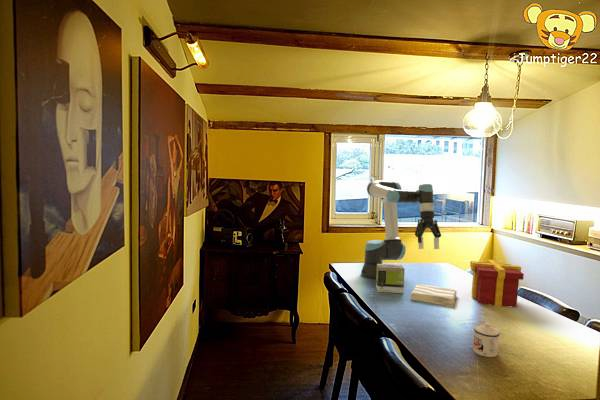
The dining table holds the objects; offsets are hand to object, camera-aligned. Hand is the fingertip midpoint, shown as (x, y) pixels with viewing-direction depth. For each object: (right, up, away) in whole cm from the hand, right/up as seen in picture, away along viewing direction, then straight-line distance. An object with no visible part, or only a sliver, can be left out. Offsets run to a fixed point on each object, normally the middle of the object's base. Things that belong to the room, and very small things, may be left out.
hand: (429, 249), depth 225 cm
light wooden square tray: (+3, -27, 0) cm, 27 cm away
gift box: (+36, -29, +1) cm, 46 cm away
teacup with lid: (+1, -33, -68) cm, 76 cm away
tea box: (-20, -26, +10) cm, 34 cm away
